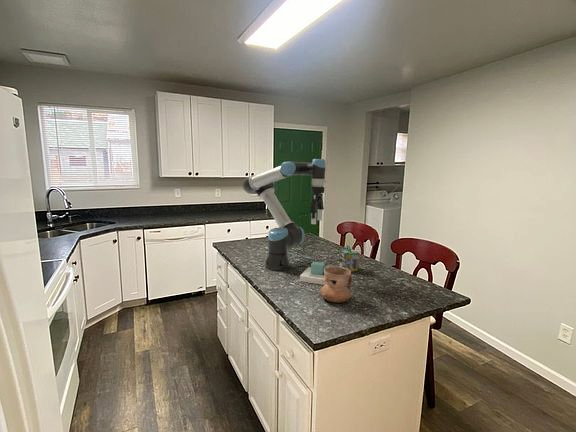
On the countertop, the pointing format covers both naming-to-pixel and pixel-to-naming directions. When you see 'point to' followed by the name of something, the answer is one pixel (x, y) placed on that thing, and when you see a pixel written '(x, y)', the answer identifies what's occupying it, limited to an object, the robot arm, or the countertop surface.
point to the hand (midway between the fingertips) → (316, 222)
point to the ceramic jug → (336, 284)
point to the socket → (312, 277)
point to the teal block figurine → (317, 268)
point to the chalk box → (349, 259)
